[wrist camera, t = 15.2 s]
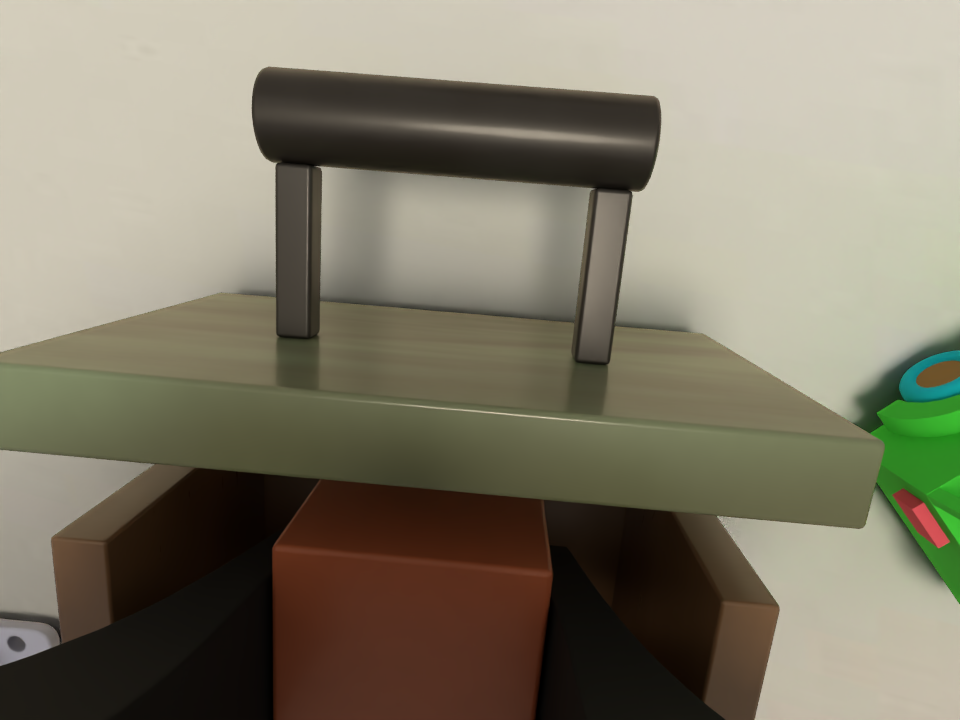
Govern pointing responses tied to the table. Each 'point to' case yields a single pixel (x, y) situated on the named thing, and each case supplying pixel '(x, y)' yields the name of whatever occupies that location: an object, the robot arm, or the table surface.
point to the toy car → (926, 460)
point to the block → (410, 605)
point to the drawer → (443, 392)
